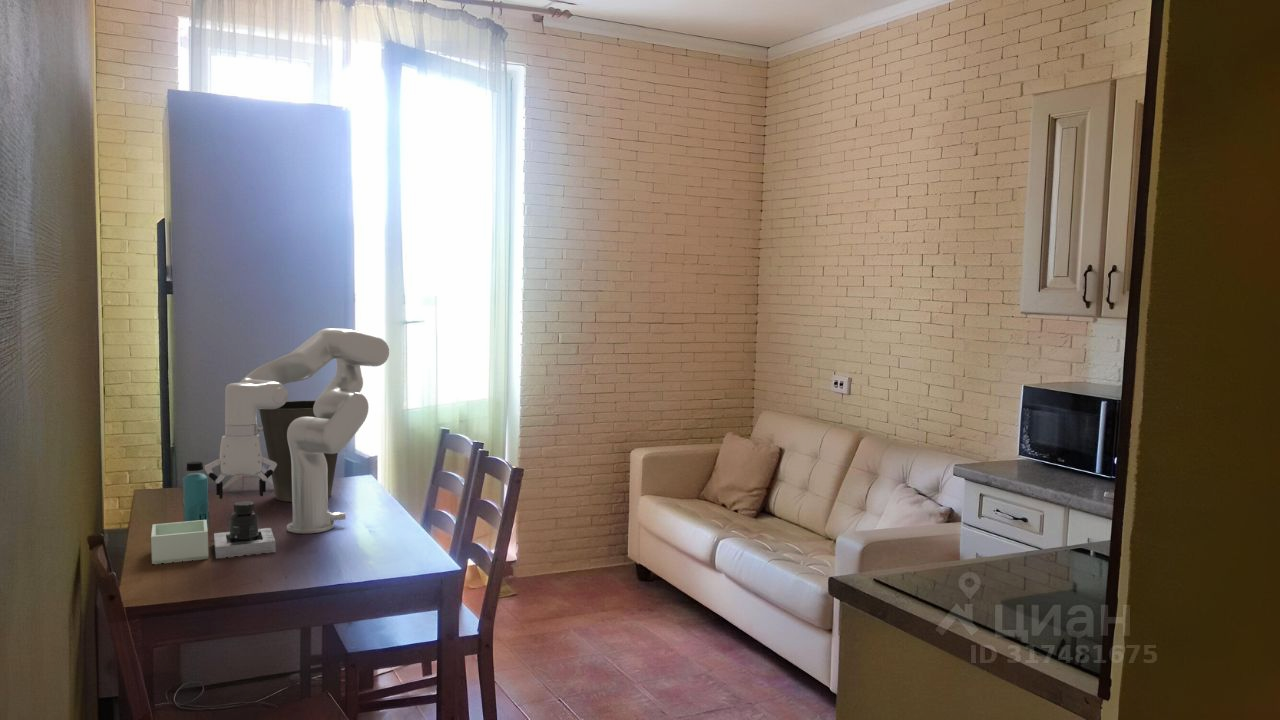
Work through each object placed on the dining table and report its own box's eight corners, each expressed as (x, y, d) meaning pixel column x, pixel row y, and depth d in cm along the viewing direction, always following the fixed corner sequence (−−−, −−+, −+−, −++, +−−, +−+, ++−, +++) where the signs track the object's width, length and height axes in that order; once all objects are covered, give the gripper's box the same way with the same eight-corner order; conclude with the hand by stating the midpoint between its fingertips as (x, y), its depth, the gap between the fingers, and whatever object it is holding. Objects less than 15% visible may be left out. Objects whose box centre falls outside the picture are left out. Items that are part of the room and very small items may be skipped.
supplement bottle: (224, 550, 246) (223, 504, 245) (245, 543, 252) (244, 499, 251) (243, 553, 243) (242, 507, 242) (264, 546, 249) (263, 502, 248)
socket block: (270, 538, 257) (270, 527, 257) (275, 552, 244) (275, 541, 244) (214, 544, 251) (214, 533, 250) (216, 558, 238) (215, 547, 238)
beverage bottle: (199, 537, 257) (197, 464, 255) (178, 536, 258) (176, 463, 256) (215, 531, 263) (213, 460, 261) (194, 530, 264) (192, 459, 263)
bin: (207, 545, 249) (206, 519, 249) (208, 558, 238) (207, 531, 237) (153, 551, 244) (152, 524, 243) (152, 564, 233) (151, 536, 232)
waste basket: (338, 486, 322) (337, 398, 319) (356, 498, 305) (354, 405, 302) (254, 494, 307) (252, 402, 305) (267, 508, 290) (265, 410, 288)
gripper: (275, 427, 252) (275, 491, 253) (203, 430, 244) (204, 495, 245) (278, 431, 245) (278, 497, 246) (204, 434, 237) (204, 501, 239)
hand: (241, 496), depth 246 cm, fingers open, 9 cm apart
